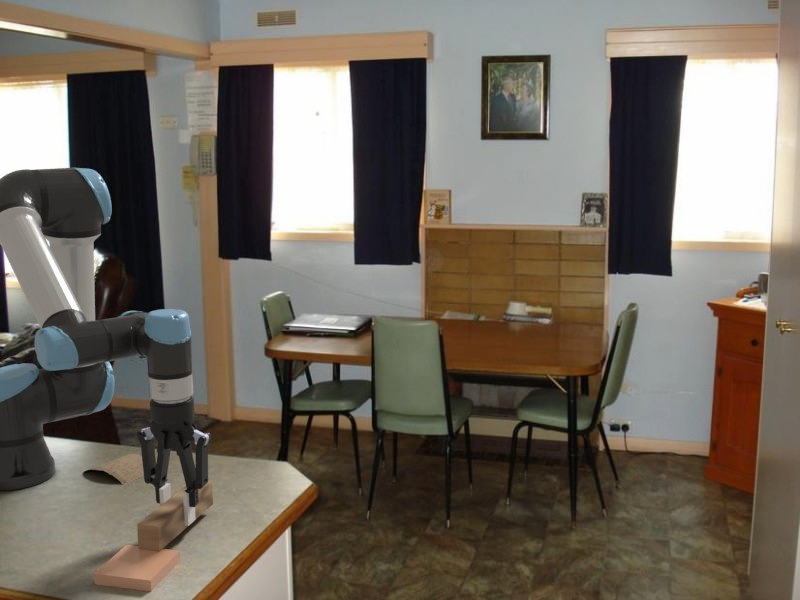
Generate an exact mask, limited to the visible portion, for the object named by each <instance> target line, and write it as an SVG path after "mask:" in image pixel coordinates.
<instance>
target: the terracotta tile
mask: <svg viewBox="0 0 800 600" xmlns="http://www.w3.org/2000/svg"><path fill="white" fill-rule="evenodd" d="M180 562H181V551H180V550H178V549H177V550H176V549H175V550H174V549H167V548H166V549H165V548H163V549H162V550H161V551H153V550H145V549H138V545H133V544H125V545H124V546H123V547H122V548H121V549H120V550H119V551H117V553H116V554H114V555H113V556H112V557H111V558H110V559H109V560H108V561H106V562H105V563H104V564H103V565H102V566H101V567H100V568H99V569H98V570H96V571H95V572H94V573H93V577H94V579H93V580H94V581H93V582H94V585H97V586H105V587H112V588H113V587H114V588H121V589H129V590H138V591H143V592H144V591H146V592H152V591H154V589H155V588H157V587H158V585H159V584H160V583H161V582H162V581H163V579H165V578H166V577H167V576H168V574H170V572H171V571H173V570H174V569H175V567H176V566H177V565H178V564H179V563H180Z"/></svg>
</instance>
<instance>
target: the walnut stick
mask: <svg viewBox="0 0 800 600" xmlns="http://www.w3.org/2000/svg"><path fill="white" fill-rule="evenodd" d="M185 489H187V487H186V485H185V486H183V487H181V489H180V490H179V491H177V492H176V493H174V495H171V498H170V499H168V500H167V501H166V502H165V503H163V504H162V505H161V506H160V505H159V506H158V507H157V508H156V509H154V510H152V511H151V512H150V513H149V514H147V516H145V517H144V518H143V519H141V520H140V521H139V522H138V523H137V524H136V528H137V544H138V545H137V546H138V549H145V550H153V551H161V550H162V549H165V547H166V546H167V545H169V544H170V543H171V542H172V541H173V540H174V539H176V537H178V536H179V535H180V534H181V533H183V531H185V530H186V529H187V528H188V527H189V526H185V517H184V502H183V491H184V490H185ZM213 492H214V491H213V481H208V483H207V484H206V485H205V486H203V487H202V488H201V489H198V495H199V496H198V497H199V503H198V505H196V506H195V517H196V520H197V519H198V518H200V516H202V514H204V513H205V512H206V511H207V510H208V509H209V508H210V507H212V506H213V504H214V497H213ZM196 520H194V521H193V522H195V521H196Z"/></svg>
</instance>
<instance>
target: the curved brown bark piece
mask: <svg viewBox="0 0 800 600" xmlns="http://www.w3.org/2000/svg"><path fill="white" fill-rule="evenodd" d="M88 470H89V471H91V470H92V471H94V470H95V471H103V472H105V473H107V474H108V475H110V476H112V477H114V478H115V479H117V480H118V481H119V482H120V483H121V485H126V484H125V483H128V484H130V483H132V482H134V481H133V480H135V479H137V480H139V479H142V478H144V472H143V462H142V455H139V454H135V453H128V454H125V455H122V456H120V457H117V458H115V459H112V460H111V461H107V462H104V463H102V464H100V465H97V466H95V467H91V468H89V469H87V470H85V471H84V473H85V472H89V471H88ZM141 477H142V478H141ZM138 478H139V479H138ZM131 481H132V482H131ZM135 481H136V480H135ZM129 482H130V483H129Z"/></svg>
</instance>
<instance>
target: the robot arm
mask: <svg viewBox="0 0 800 600" xmlns="http://www.w3.org/2000/svg"><path fill="white" fill-rule="evenodd" d="M111 199H112V198H111V194H110V191H109V189H108V186H107V183H106V182H105V180H104V179H103V177H102V176H101V174H100V173H98V171H97V170H94V169H91V168H84V167H83V168H82V167H81V168H80V167H64V168H63V167H62V168H61V167H59V168H58V167H57V168H39V169H28V168H25V169H19V170H14V171H12V172H10V173H7V174H5V175H4V176H2V177H0V246H1V247H2V250H3V252H4V254H5V257H6V259H7V260H8V263H9V265H10V267H11V268H12V270H13V271H12V272H14V276H15V277H16V279H17V281H18V284H19V286H20V288H21V289H22V292H23V295H24V296H25V298H26V301H27V302H28V305H29V307H30V308H31V311H32V314H33V315H34V317H35V319H36V321H37V322H36V323H37V324H38V326H39V327H40V329H39V330H37V332H36V333H35V337H34V350H35V353H36V358H37V362H38V363H39V365H40V366H41V368H38V366H37V365H36V364H34V363H29V362H28V363H26V362H25V363H20V364H18V363H14V364H8V365H6V366H5V365H4V366H2V367H0V491H11V490H12V491H13V490H19V489H20V490H21V489H25V488H29V487H33V486H37V485H38V484H42V483H43V482H46V481H47V480H49V479H51V478H52V477H53V476H54V475H55V473H56V463H55V459H54V457H53V456H52V454H51V451H50V449H49V447H48V445H47V442H46V440H45V436H44V428H43V427H44V424H48V423H52V422H58V421H62V420H68V419H73V418H77V417H80V416H88V415H91V414H93V413H97V412H101V411H104V410H105V409H106V408H107V407H108V406H109V405H110V404H111V402H112V400H113V397H114V393H115V384H116V383H115V375H114V374H113V373H114V370H113V367H112V365H111V363H110V362H113V361H119V360H123V359H129V358H135V357H142V358H144V359H146V361H147V378H148V389H149V390H148V391H149V398H150V399H151V400H150V401H149V413H150V415H149V416H150V420H151V424H150V426H149V427H148V426H145V427H143V428H141V429H140V430H139V431H137V432H136V437H137V439H138V441H139V444H140V448H141V457H142V462H143V472H144V477H143V479H144V480H143V481H144V483H145V484H147V485H148V484H151V485H153V487H154V491H155V492H154V493H155V501H156V503H157V504H159V506H161V505H162V504H163V503H165V502H166V501H167V500H168V499H170V498H171V497H172V488H171V485H172V484H171V483H170V482H169V483H168V481H169V478H168V473H169V472H168V471H169V465H170V456H171V451H172V450H175V453H176V455H177V456H178V458H179V463H180V467H181V469H182V471H181V472H182V475H183V479H184V482H185V486H186V487H187V489H185V490H184V491H183V502H184V517H185V526H188V527H189V526H190V525H191V524H193V522H195V521H196V520H197V519H196V517H195V506H196V505H198V503H199V497H198V496H199V495H198V489H201V488H202V487H203V486H205V485H206V484H207V483H208V482H209V443H210V440H211V437H212V434H211V433H210V432H208V431H207V432H204V433H203V432H202V431H200V430H198V428H197V425H196V424H195V399H194V397H193V395H194V380H193V359H192V355H193V354H192V329H191V325H190V324H191V323H190V315H189V314H188V312H187V311H185V310H183V309H175V308H164V309H163V308H161V309H156V310H152V311H149V312H145V311H139V310H129V311H125V312H123V313H121V314H120V315H118V316H117V317H111V318H110V317H109V318H104V319H97V320H96V305H95V304H96V303H95V302H96V298H95V297H96V296H95V295H96V291H95V260H94V259H95V255H94V254H95V253H94V252H95V249H94V248H95V247H94V246H95V245H94V242H95V241H96V240H97V239H98V238H99V237H100V236H101V234H102V233H101V232H102V226H101V225H105V224H107V223H108V222H110V220H111V216H112V214H113V213H112V212H113V211H112V209H113V208H112V200H111ZM154 438H155V439H156V441H157V449H156V450H155V441H154ZM193 438H194V444H195V450H194V451H195V454H194V455H195V461H194V456H193V451H192V449H193V445H192V440H193ZM155 451H156V452H155ZM156 453H157V457H156ZM194 520H195V521H194Z"/></svg>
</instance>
